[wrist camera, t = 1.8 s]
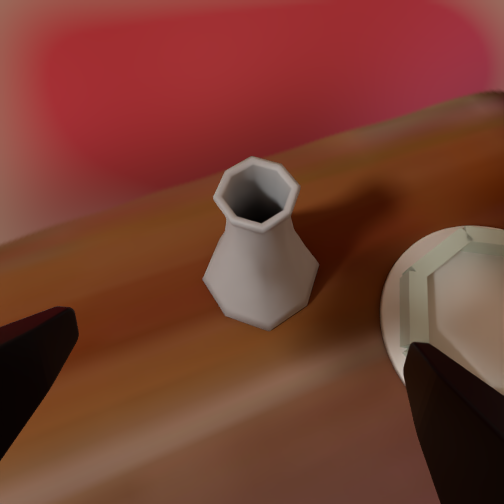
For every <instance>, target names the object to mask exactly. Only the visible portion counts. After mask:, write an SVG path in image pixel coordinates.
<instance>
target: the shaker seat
mask: <svg viewBox="0 0 504 504" xmlns="http://www.w3.org/2000/svg"><path fill="white" fill-rule="evenodd" d="M380 326H381V332H382V337H383V341H384V344H385V348H386V351H387V354H388V356H389V358H390V361H391V363H392V365H393V367H394V369H395V371H396V373H397V374H398V376H399V378H400V379H401V381H402V383H403V384H404V385H405V381H404V376H403V367H404V363H405V360H406V356H407V353H408V349H409V346H410V344H411V343H412V342H425V343H430V344H431V345H433V346H434V347H436V348H437V349H438V350H440V351H441V352H443V353H444V354H446V355H447V356H448V357H450V358H451V359H453V360H454V361H455V362H457V363H458V364H460V365H461V366H463V367H464V368H465V369H467V370H468V371H470V372H471V373H472V374H474V375H475V376H477V377H478V378H480V379H481V380H482V381H484V382H485V383H487V384H488V385H489V386H491V387H492V388H494V389H495V390H497V391H498V392H499V393H501V394H502V395H504V230H502V229H498V228H492V227H486V226H458V227H452V228H446V229H443V230H440V231H437V232H434V233H432V234H430V235H428V236H425V237H423V238H422V239H420V240H419V241H417V242H416V243H414V244H413V245H412V246H411V247H410V248H409V249H408V250H406V251H405V252H404V253H403V254H402V255H401V256H400V258H399V259H398V260H397V261H396V263H395V264H394V265H393V267H392V269H391V270H390V272H389V274H388V276H387V279H386V281H385V284H384V286H383V291H382V295H381V301H380ZM405 387H406V385H405Z"/></svg>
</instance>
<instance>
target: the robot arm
mask: <svg viewBox="0 0 504 504" xmlns="http://www.w3.org/2000/svg"><path fill="white" fill-rule="evenodd" d="M78 336H79V332H78V326H77V321H76V316H75V312H74V310H73V309H72V308H70V307H61V306H57V307H53V308H51V309H48V310H45V311H43V312H40V313H37V314H34V315H32V316H29V317H26V318H24V319H21V320H18V321H16V322H13V323H10V324H7V325H5V326H2V327H0V461H1V459H2V458H3V456H4V455H5V453H6V452H7V450H8V449H9V448H10V446H11V445H12V443H13V442H14V440H15V439H16V438H17V436H18V435H19V433H20V432H21V430H22V429H23V427H24V426H25V425H26V423H27V422H28V420H29V419H30V417H31V416H32V415H33V413H34V412H35V410H36V409H37V407H38V406H39V405H40V403H41V402H42V400H43V399H44V397H45V396H46V394H47V393H48V391H49V390H50V388H51V386H52V385H53V383H54V381H55V380H56V378H57V376H58V374H59V372H60V371H61V369H62V367H63V365H64V363H65V362H66V360H67V358H68V356H69V355H70V353H71V351H72V349H73V347H74V346H75V344H76V342H77V340H78ZM403 376H404V381H405V385H406V389H407V394H408V398H409V403H410V407H411V411H412V416H413V420H414V425H415V428H416V432H417V436H418V439H419V442H420V445H421V448H422V451H423V454H424V457H425V460H426V463H427V465H428V468H429V471H430V474H431V477H432V480H433V483H434V486H435V489H436V491H437V494H438V497H439V500H440V503H441V504H504V395H502V394H501V393H499V392H498V391H497V390H495V389H494V388H492V387H491V386H489V385H488V384H487V383H485V382H484V381H482V380H481V379H480V378H478V377H477V376H475V375H474V374H472V373H471V372H470V371H468V370H467V369H465V368H464V367H463V366H461V365H460V364H458V363H457V362H455V361H454V360H453V359H451V358H450V357H448V356H447V355H446V354H444V353H443V352H441V351H440V350H438V349H437V348H436V347H434V346H433V345H431V344H430V343H425V342H412V343H411V344H410V346H409V349H408V353H407V356H406V360H405V363H404V367H403Z"/></svg>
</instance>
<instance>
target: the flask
mask: <svg viewBox="0 0 504 504" xmlns="http://www.w3.org/2000/svg"><path fill="white" fill-rule="evenodd" d="M299 191H300V185H299V184H298V183H297V181H296V180H295V179H294V178H293V177H292V176H291V174H290V173H289V172H288V171H287V170H286V169H285V167H284V166H283V165H282V164H280V163H276V162H272V161H269V160H265V159H261V158H257V157H254V156H251V157H249V158H247V159H245V160H244V161H242V162H240V163H238V164H237V165H235V166H233V167H231V168H230V169H228V170H226V171H225V173H224V175H223V177H222V179H221V181H220V184H219V186H218V188H217V190H216V192H215V195H214V197H213V198H214V201H215V202H216V204H217V205H218V207H219V208H220V209H221V211H222V212H223V214H224V215H225V216H226V220H227V221H226V228H225V232H224V234H223V235H222V237H221V238H220V240H219V242H218V244H217V246H216V249H215V251H214V254H213V256H212V258H211V261H210V263H209V265H208V268H207V270H206V272H205V275H204V277H203V279H202V280H203V281H204V283H205V284H206V286H207V288H208V289H209V291H210V292H211V294H212V295H213V297H214V299H215V300H216V302H217V303H218V305H219V306H220V308H221V310H222V311H223V313H224V314H225V316H227V317H230V318H233V319H236V320H238V321H241V322H244V323H247V324H250V325H253V326H255V327H258V328H261V329H264V330H267V331H270V330H272V329H273V328H275V327H276V326H278V325H279V324H281V323H282V322H284V321H285V320H286V319H288V318H289V317H291V316H292V315H294V314H295V313H297V312H298V311H300V310H301V309H302V308H304V307H305V306H307V304H308V301H309V297H310V294H311V291H312V287H313V284H314V281H315V277H316V274H317V271H318V267H319V263H318V262H317V260H316V259H315V258H314V257H313V255H312V254H311V253H310V252H309V250H308V249H307V248H306V246H305V245H304V243H303V242H302V240H301V239H300V237H299V236H298V235H297V233H296V232H295V230H294V227H293V223H292V219H291V214H292V211H293V208H294V206H295V203H296V200H297V197H298V194H299Z"/></svg>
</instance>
